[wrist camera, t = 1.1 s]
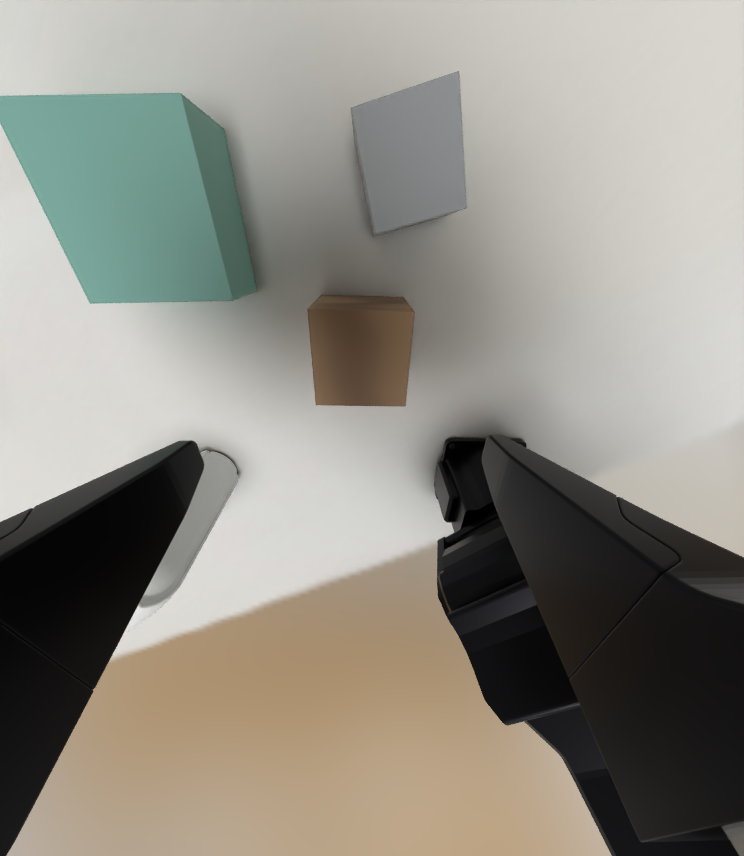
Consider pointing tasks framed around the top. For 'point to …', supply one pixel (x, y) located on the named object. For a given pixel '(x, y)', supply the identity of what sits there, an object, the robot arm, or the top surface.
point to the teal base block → (135, 194)
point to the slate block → (412, 154)
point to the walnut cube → (360, 349)
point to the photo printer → (189, 534)
